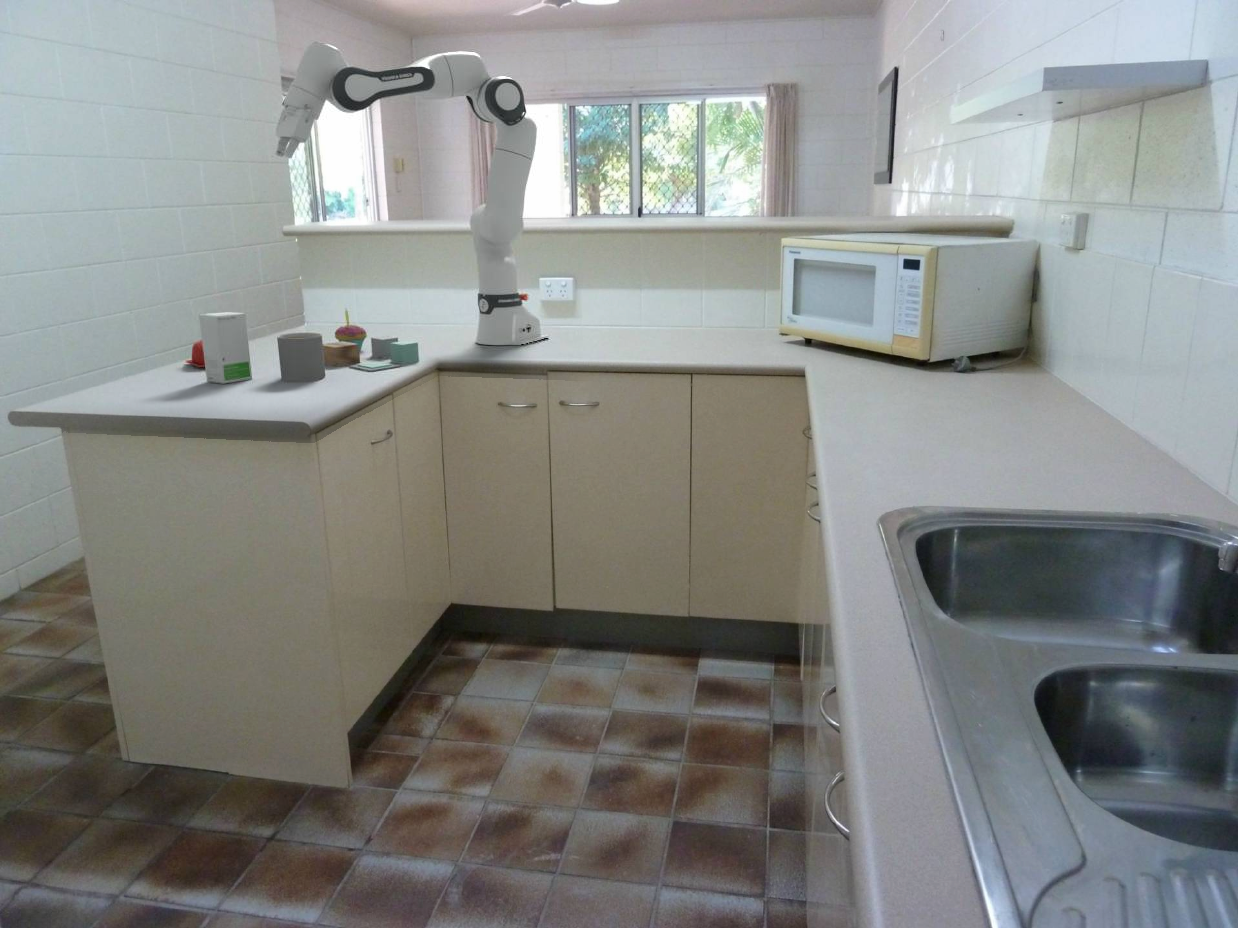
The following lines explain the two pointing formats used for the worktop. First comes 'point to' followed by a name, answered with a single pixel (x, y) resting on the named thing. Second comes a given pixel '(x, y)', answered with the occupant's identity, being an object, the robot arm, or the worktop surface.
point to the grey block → (382, 346)
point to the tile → (375, 366)
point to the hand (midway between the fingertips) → (282, 156)
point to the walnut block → (341, 353)
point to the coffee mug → (301, 357)
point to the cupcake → (351, 333)
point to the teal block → (404, 352)
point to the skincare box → (225, 347)
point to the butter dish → (197, 355)
